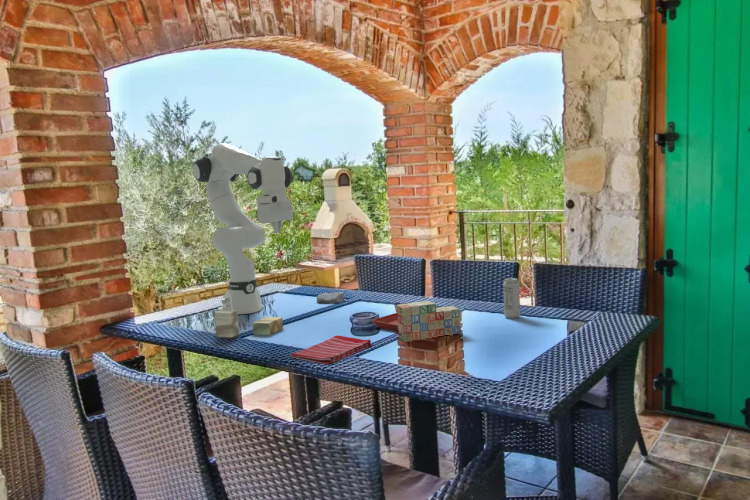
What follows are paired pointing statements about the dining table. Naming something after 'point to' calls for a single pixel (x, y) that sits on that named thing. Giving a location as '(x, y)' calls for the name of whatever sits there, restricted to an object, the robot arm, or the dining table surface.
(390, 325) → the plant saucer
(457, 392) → the dining table surface
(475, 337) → the dining table surface
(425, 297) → the dining table surface
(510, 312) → the energy drink can
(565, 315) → the dining table surface
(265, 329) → the oak block
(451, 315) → the stack of blocks
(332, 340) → the dish towel
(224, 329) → the pine block
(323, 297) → the stone block
